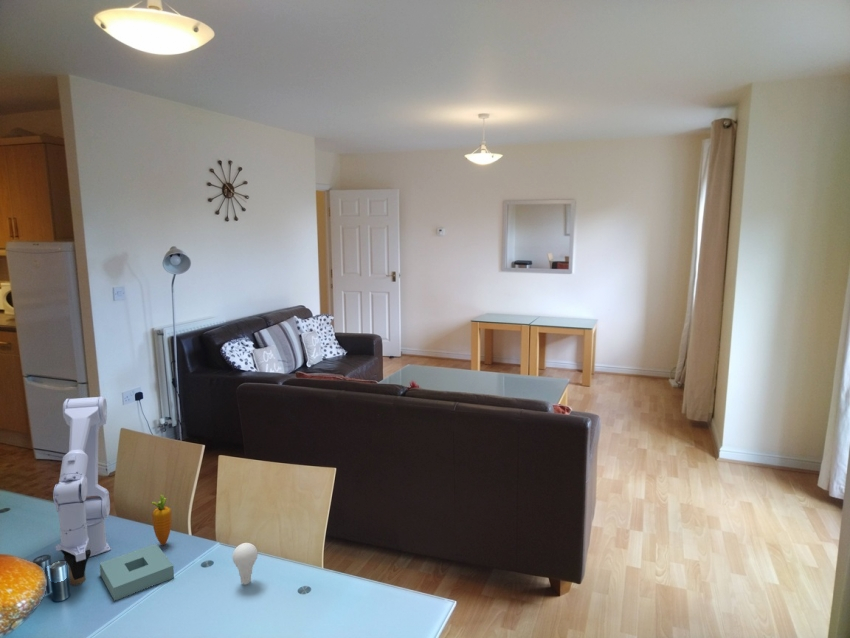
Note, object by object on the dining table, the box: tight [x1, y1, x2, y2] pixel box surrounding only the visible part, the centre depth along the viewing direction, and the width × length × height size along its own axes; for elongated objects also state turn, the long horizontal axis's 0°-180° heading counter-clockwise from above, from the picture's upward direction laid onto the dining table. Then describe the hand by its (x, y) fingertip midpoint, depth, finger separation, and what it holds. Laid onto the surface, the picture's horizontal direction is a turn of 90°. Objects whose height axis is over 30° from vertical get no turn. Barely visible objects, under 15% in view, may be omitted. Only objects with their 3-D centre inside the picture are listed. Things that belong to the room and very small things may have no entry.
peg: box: [67, 563, 86, 586], centre depth 139 cm, size 3×3×7 cm
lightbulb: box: [232, 542, 258, 585], centre depth 139 cm, size 6×6×11 cm
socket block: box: [99, 543, 175, 602], centre depth 142 cm, size 14×14×4 cm
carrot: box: [151, 494, 172, 547], centre depth 156 cm, size 5×5×15 cm
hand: (77, 574), depth 140 cm, fingers closed on peg, 3 cm apart
